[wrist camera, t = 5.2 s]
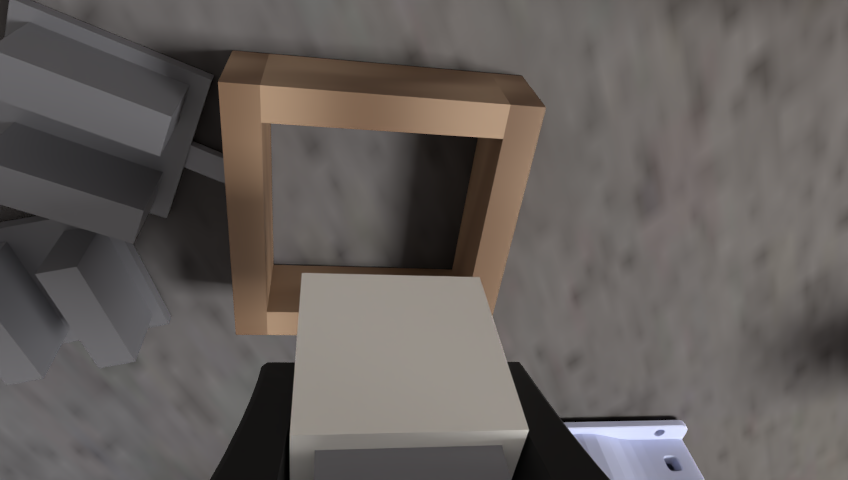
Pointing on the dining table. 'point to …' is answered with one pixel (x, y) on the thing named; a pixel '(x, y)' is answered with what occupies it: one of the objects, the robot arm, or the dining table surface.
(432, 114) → the frame
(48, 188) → the clip
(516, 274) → the dining table surface
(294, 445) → the white boxy piece
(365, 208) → the dining table surface
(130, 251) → the clip
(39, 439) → the dining table surface
